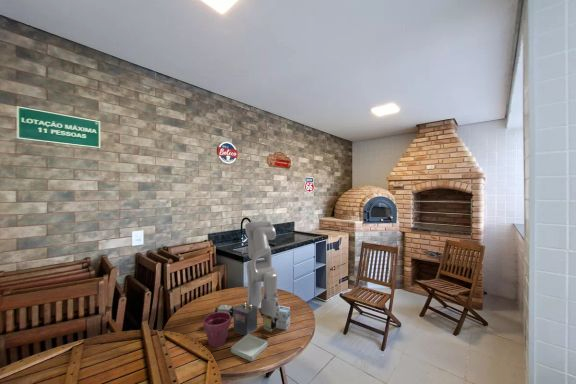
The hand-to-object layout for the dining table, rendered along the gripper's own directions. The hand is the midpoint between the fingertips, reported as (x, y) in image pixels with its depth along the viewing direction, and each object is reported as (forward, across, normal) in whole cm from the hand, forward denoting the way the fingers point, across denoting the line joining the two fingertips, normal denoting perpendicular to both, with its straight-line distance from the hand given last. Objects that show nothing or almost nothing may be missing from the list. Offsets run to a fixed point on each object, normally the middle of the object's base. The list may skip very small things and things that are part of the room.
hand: (269, 326), depth 137 cm
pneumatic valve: (+6, +29, +5) cm, 30 cm away
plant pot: (+6, +21, +19) cm, 29 cm away
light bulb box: (+6, 0, -11) cm, 13 cm away
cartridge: (+1, 0, 0) cm, 1 cm away
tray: (+5, +2, +15) cm, 16 cm away
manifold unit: (+6, +15, +3) cm, 16 cm away
